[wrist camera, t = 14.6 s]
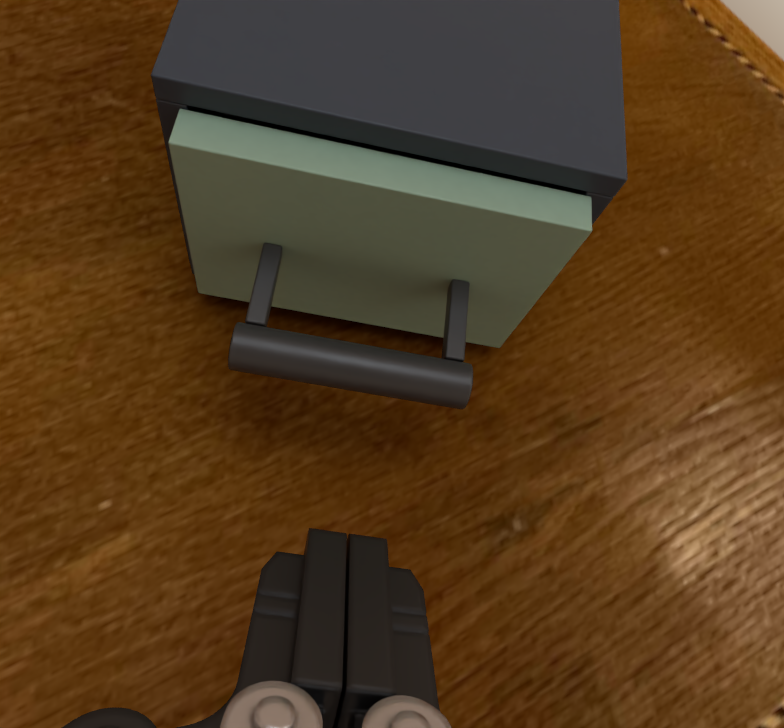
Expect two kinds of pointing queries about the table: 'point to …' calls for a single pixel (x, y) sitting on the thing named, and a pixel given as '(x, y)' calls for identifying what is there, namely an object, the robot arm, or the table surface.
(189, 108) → the cabinet
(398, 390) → the drawer
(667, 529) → the table surface
